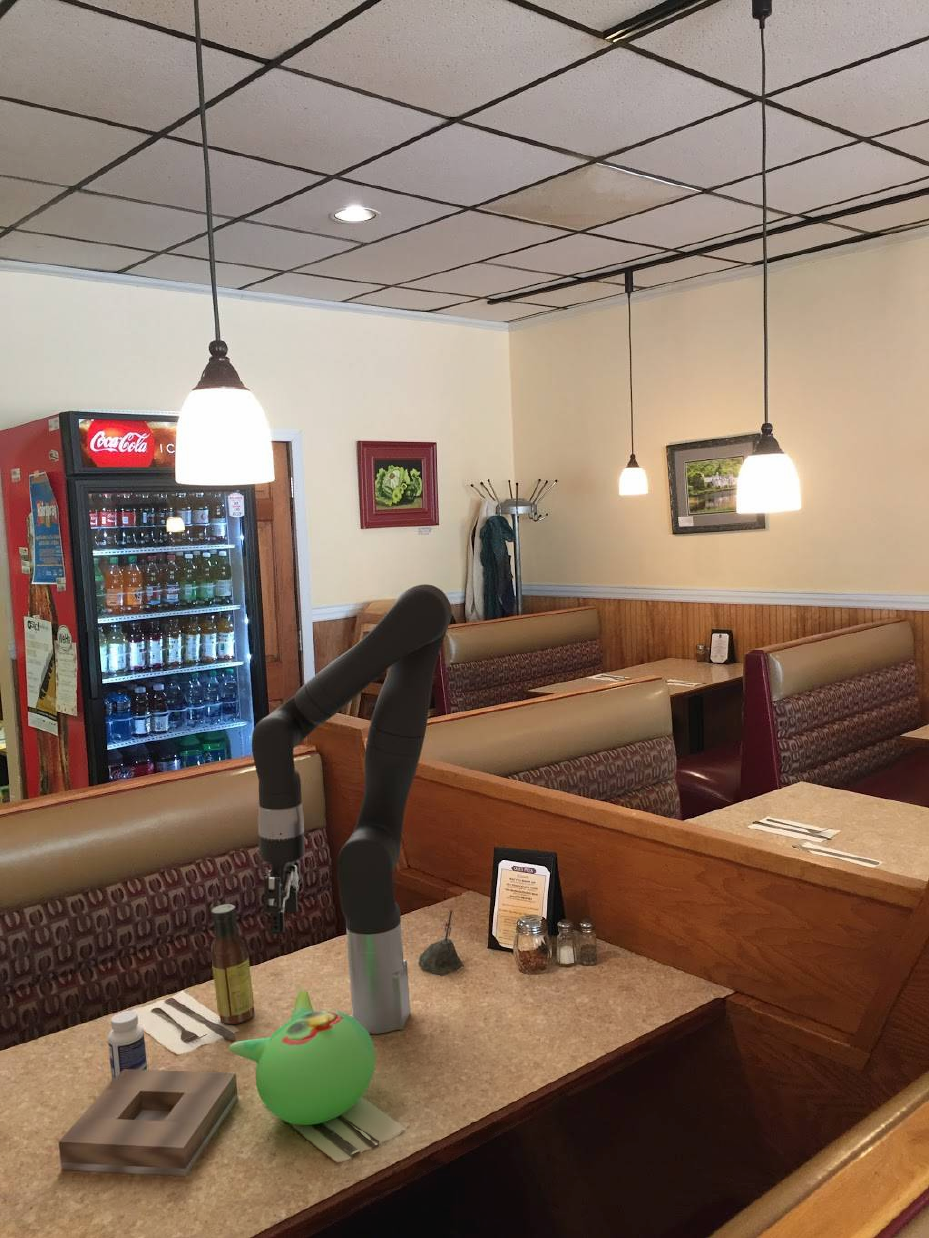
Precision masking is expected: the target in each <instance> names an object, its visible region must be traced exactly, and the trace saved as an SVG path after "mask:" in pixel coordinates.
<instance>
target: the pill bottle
mask: <svg viewBox="0 0 929 1238" xmlns="http://www.w3.org/2000/svg"><path fill="white" fill-rule="evenodd" d="M138 1016H139V1015H138V1013H137V1012H136V1011H135V1010H134V1011H133V1010H126V1011H121V1012H118V1013H116V1014H114V1015H113V1016H112V1017H111V1019H110V1024H111V1030H110V1032H109V1033H108V1035H107V1045H108V1052H109V1053H108V1054H109V1062H110V1063H109V1064H110V1071H111V1072H110V1073H111V1078H112V1082H113V1081H114V1079H115V1078H116V1077H117V1076H118V1075H119V1074H120V1073H121V1072H122V1071H123V1069H137V1070H148V1062H147V1061H148V1060H147V1050H146V1043H145V1032H144V1028H143V1026H142V1025H140V1024H139V1017H138Z"/></svg>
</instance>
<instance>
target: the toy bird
mask: <svg viewBox="0 0 929 1238" xmlns="http://www.w3.org/2000/svg"><path fill="white" fill-rule="evenodd" d="M229 1051H230V1052H231V1053H234V1054H235V1055H237V1056H240V1057H243V1058H246V1059H247V1060H250V1061H253V1062H254V1063H256V1069H255V1085H256V1089H257V1093H258V1095H259V1098H260V1099H261V1101H262V1103H263V1105H264V1106H265V1107H266V1108H267V1110H269V1112H271V1114H273V1115H274V1116H275V1117H277V1118H278V1119H280V1120H282V1121H284V1122H286V1123H289V1124H293V1125H297V1126H298V1125H299V1126H311V1125H318V1124H322V1123H326V1122H328V1121H331V1120H333V1119H335V1118H337V1117H340V1116H341V1115H343V1114H344V1113H346V1112H347V1111H349V1110H350V1109H351V1108H353V1107H354V1106H355V1105H356V1104H357V1103H358V1102H359V1100H360V1099H362V1097H363V1096H364V1095H365V1093H366V1091H367V1090H368V1087H369V1085H370V1084H371V1081H372V1079H373V1076H374V1073H375V1067H376V1066H375V1065H376V1051H375V1044H374V1041H373V1039H372V1037H371V1034H370V1033H368V1031H367V1030H366V1029H365V1027H364V1026H363V1025H362V1024H361V1023H360V1022H359V1021H357V1020H356V1019H355V1018H353V1016H351V1015H349V1014H347V1013H344V1012H341V1011H339V1010H337V1011H336V1010H330V1009H329V1010H325V1009H324V1010H316V1011H315V1010H314V1008H313V1004H312V1002H311V999H310V995H309V992H308V991H307V989H301V990H300V991H299V992H298V994H297V996H296V999H295V1002H294V1007H293V1010H292V1013H291V1018H290V1020H289V1021H287V1022H285V1023H284V1024H283V1025H281V1026H280V1027H279V1028H277V1030H275V1032H274V1033H273V1034H272V1035H271V1036H268V1037H262V1038H253V1039H246V1040H240V1041H239V1040H238V1041H235V1042H232V1043H231V1045H230V1046H229Z"/></svg>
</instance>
